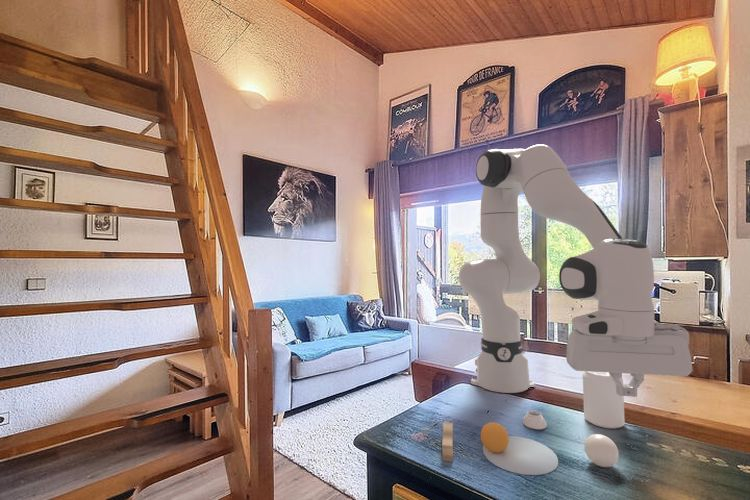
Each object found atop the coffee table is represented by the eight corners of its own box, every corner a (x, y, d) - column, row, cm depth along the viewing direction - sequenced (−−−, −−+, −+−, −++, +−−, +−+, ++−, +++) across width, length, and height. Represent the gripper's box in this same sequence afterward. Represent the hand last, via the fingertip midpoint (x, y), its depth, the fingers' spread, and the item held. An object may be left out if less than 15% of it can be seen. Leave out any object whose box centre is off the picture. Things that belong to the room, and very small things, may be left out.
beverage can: (631, 431, 80) (629, 377, 80) (591, 429, 82) (589, 376, 82) (615, 416, 88) (613, 366, 88) (579, 413, 90) (577, 365, 90)
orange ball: (477, 419, 77) (503, 416, 76) (483, 444, 77) (509, 442, 75) (478, 432, 72) (506, 429, 70) (484, 459, 71) (513, 457, 70)
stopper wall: (443, 435, 80) (443, 422, 80) (452, 436, 80) (452, 422, 80) (442, 460, 70) (442, 445, 70) (453, 461, 70) (452, 446, 70)
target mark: (480, 434, 80) (480, 433, 80) (547, 439, 77) (547, 438, 77) (486, 470, 67) (486, 469, 67) (568, 479, 64) (568, 477, 64)
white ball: (613, 432, 70) (600, 454, 71) (586, 423, 70) (574, 446, 71) (630, 454, 64) (616, 478, 66) (601, 445, 64) (588, 469, 66)
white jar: (524, 419, 88) (522, 428, 83) (523, 407, 88) (521, 415, 83) (546, 423, 85) (546, 432, 81) (546, 411, 85) (545, 419, 81)
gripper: (678, 321, 69) (679, 392, 69) (563, 318, 74) (564, 385, 74) (700, 328, 63) (701, 406, 63) (573, 324, 68) (574, 398, 68)
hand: (626, 395), depth 69 cm, fingers closed
